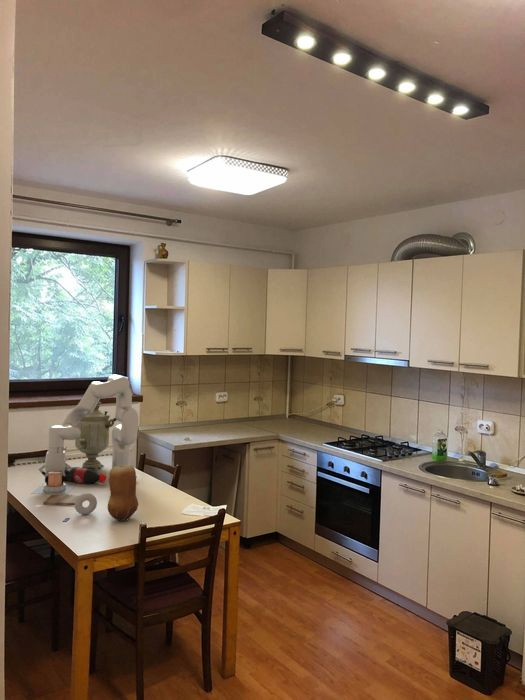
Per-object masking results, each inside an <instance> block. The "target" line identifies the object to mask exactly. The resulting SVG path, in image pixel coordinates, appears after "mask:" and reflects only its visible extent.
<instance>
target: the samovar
mask: <svg viewBox="0 0 525 700" xmlns="http://www.w3.org/2000/svg"><path fill="white" fill-rule="evenodd" d="M101 404H102V402H101V401H99V402H98V403H97V405H96V407H95V409H94V410H93V412H92V413H90V414H89V415H86V416H85V417H83V418H82V419H81V420H80V421H79V423H78V424H77V427H78V428H79V429H80V431H81V434H80V436H79V437H78V438H77V439H75V440H74V444H75V445H74V446H75V448H76V449H77V450H78V451H79V452H80V453H82V454H85V458H86V460H84V462H82V466H81V468H87V469H93V470H95V471H96V472H99V471H100V469H99V467H104V465H103V464H102V463H101V461H100V460H99V459H97V458H98V457H99V454H100V453H103V451H104V450H106V449H107V448H108V447H109V445H110V444H109V443H110V428H112V427H113V426H114V425H115V422H116V421H118V420H117V419H116V417H113V418H112V419H111V417H110V416H111V414H110V413H109V411H107V410H105V411H101V410H99V409H100V405H101Z"/></svg>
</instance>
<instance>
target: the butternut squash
mask: <svg viewBox="0 0 525 700" xmlns="http://www.w3.org/2000/svg"><path fill="white" fill-rule="evenodd" d="M136 473H137V472H136V469H135V467H134V466H133V465H131V464H130V465H120V466H115V467H113V468H112V467H111V469H110V470H109V474H108V486H109V492H110V496H109V499H108V502H107V511H108V513H109V515H110V516H111V517H112V519H114V520H117V521H119V520H120V521H123V520H125V521H128V520H130V518H131V517H132V516H133V515H134V513H136V511H137V510H138V507H139V500H138V497H137V478H136V475H137V474H136ZM127 519H128V520H127Z"/></svg>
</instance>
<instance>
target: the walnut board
mask: <svg viewBox="0 0 525 700" xmlns="http://www.w3.org/2000/svg"><path fill="white" fill-rule="evenodd" d="M80 495H81V494H80ZM80 495H79V494H77V495H76V494H75V495H74V494H73V495H72V494H70V495H68V494H67V495H64V494H50V496H48V497H47V498H46V499H45V500H44V501H43V502H42V503H43V506H71V505H75V501H76V499H77V498H78V497H79V496H80Z"/></svg>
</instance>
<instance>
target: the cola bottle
mask: <svg viewBox="0 0 525 700" xmlns="http://www.w3.org/2000/svg"><path fill="white" fill-rule="evenodd" d="M71 467H72V466H71ZM67 470H68V468H67V467H66V468H65V471H67ZM61 473H62V472H61ZM62 475H63V474H62ZM65 481H68V482H72V483H76V484H77V483H78V484H83V485H84V484H86V485H91V484H95V483H96V482H99V483H105V482H106V481H107V474H103V473H101V474H100V473H99V471H95V469H94V468H87V467H85V468H82V467H80V466H73V467H72V469H71V470H70V471H69V472H68V473H67V474H66V475H65Z"/></svg>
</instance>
